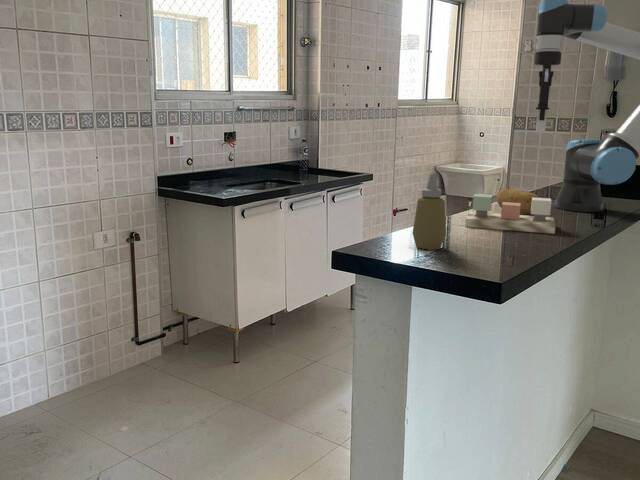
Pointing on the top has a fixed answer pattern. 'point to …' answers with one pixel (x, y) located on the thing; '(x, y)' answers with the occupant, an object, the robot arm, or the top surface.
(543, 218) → the block cream
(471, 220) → the board
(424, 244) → the squeeze bottle
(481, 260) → the top surface
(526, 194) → the potato
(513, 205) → the block terracotta
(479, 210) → the block sage
